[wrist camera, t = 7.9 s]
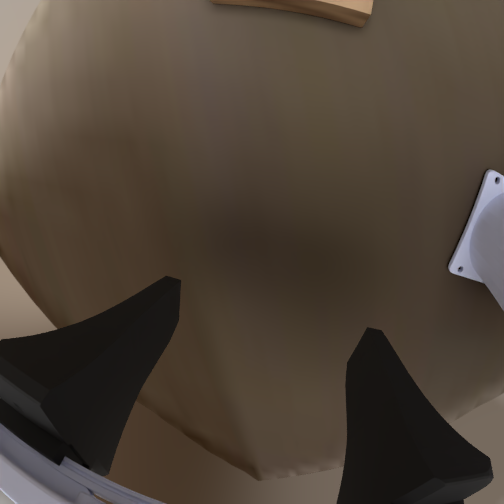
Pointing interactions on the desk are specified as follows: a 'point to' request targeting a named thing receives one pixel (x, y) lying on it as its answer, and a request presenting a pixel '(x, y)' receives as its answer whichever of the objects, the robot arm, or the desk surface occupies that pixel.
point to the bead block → (316, 8)
